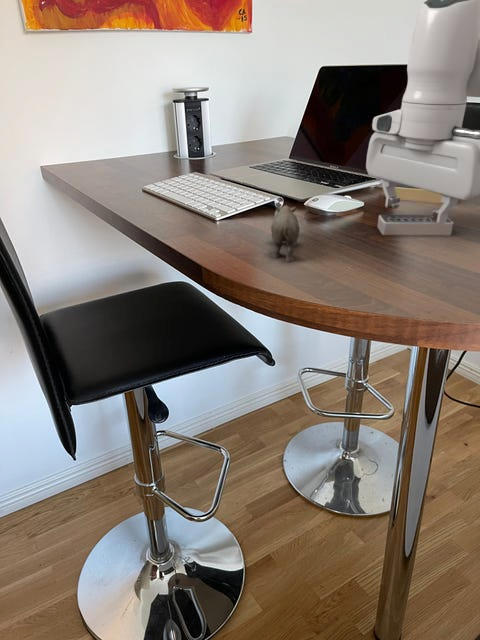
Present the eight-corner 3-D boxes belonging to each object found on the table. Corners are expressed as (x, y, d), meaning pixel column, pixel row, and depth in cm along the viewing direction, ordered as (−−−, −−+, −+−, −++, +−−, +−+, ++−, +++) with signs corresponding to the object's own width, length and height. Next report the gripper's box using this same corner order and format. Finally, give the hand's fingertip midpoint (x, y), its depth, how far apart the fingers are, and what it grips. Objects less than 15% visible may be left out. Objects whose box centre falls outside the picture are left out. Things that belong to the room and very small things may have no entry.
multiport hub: (376, 227, 84) (378, 214, 83) (442, 228, 83) (445, 214, 82) (382, 236, 80) (384, 222, 79) (451, 236, 79) (454, 222, 78)
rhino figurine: (297, 232, 82) (299, 195, 79) (298, 264, 70) (301, 222, 67) (272, 231, 82) (273, 195, 79) (269, 263, 70) (270, 222, 67)
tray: (397, 184, 110) (399, 172, 109) (451, 188, 106) (454, 176, 105) (388, 199, 99) (390, 187, 97) (449, 205, 95) (451, 192, 94)
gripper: (508, 130, 67) (484, 229, 74) (392, 115, 82) (381, 198, 89) (480, 134, 64) (457, 236, 71) (365, 117, 79) (355, 203, 86)
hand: (414, 214), depth 80 cm, fingers open, 8 cm apart
